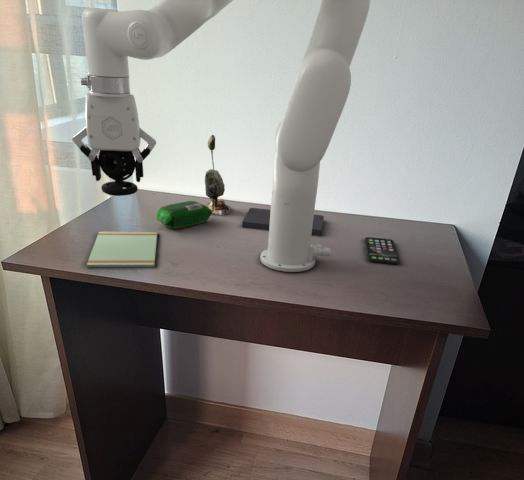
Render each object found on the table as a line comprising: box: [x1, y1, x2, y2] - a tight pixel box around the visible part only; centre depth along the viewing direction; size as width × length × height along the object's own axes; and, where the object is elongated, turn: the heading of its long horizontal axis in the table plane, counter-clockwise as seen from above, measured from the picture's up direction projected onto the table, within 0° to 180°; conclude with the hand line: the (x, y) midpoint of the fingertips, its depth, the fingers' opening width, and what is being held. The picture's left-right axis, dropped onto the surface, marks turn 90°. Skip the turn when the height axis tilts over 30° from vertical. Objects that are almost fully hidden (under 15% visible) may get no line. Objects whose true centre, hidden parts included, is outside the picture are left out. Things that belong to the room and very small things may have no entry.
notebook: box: [241, 207, 325, 237], centre depth 133 cm, size 13×2×21 cm
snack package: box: [156, 200, 213, 230], centre depth 127 cm, size 7×16×5 cm, turn 131°
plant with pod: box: [204, 134, 231, 216], centre depth 133 cm, size 8×11×20 cm
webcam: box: [97, 150, 139, 197], centre depth 102 cm, size 8×8×10 cm
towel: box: [86, 231, 158, 268], centre depth 111 cm, size 14×20×1 cm
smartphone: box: [364, 236, 401, 265], centre depth 120 cm, size 7×1×15 cm
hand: (118, 179), depth 103 cm, fingers closed on webcam, 7 cm apart
